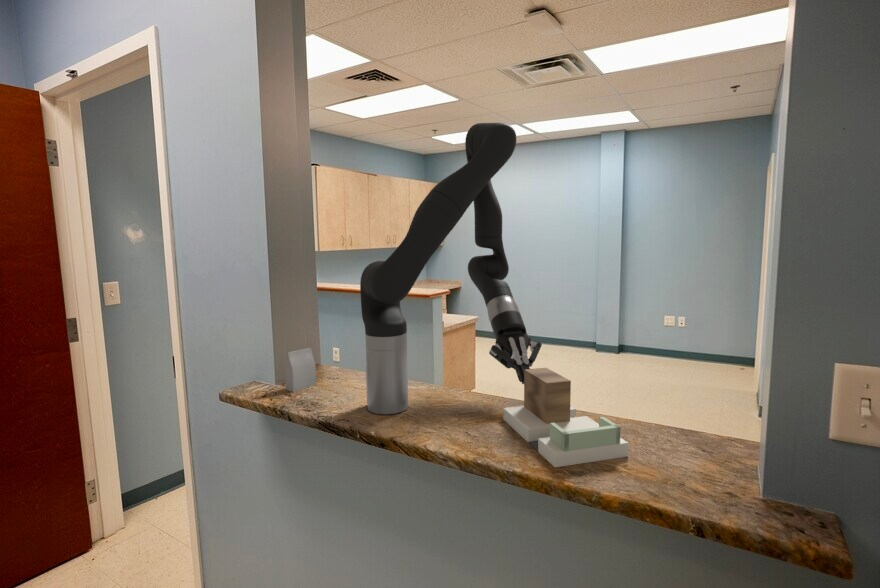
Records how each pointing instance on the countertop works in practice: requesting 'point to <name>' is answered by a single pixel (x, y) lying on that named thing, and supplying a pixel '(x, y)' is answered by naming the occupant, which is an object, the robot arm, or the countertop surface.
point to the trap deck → (568, 437)
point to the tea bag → (300, 370)
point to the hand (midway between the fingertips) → (527, 382)
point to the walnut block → (547, 395)
